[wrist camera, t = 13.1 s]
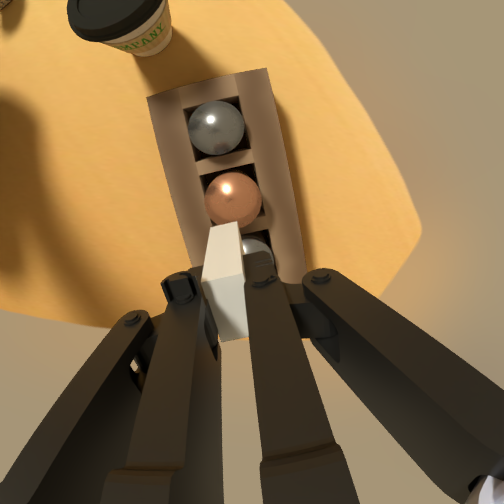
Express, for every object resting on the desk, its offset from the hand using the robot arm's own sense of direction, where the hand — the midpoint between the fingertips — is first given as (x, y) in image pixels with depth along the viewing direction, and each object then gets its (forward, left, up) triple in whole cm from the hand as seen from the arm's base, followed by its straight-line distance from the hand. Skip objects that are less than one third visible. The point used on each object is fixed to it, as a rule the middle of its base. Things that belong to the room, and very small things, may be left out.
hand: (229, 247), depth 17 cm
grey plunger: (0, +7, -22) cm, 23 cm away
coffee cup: (-6, +23, -23) cm, 33 cm away
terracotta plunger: (0, 0, -20) cm, 20 cm away
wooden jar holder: (0, 0, -22) cm, 22 cm away
